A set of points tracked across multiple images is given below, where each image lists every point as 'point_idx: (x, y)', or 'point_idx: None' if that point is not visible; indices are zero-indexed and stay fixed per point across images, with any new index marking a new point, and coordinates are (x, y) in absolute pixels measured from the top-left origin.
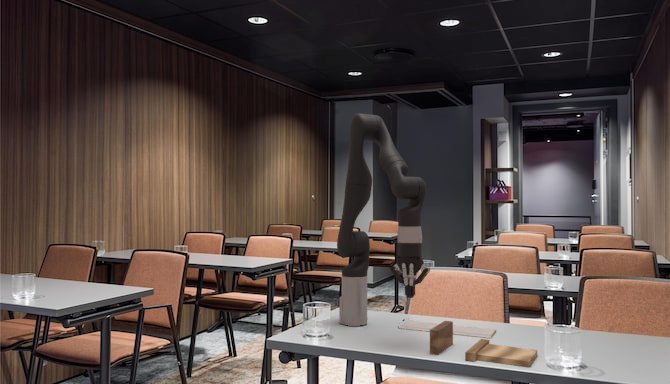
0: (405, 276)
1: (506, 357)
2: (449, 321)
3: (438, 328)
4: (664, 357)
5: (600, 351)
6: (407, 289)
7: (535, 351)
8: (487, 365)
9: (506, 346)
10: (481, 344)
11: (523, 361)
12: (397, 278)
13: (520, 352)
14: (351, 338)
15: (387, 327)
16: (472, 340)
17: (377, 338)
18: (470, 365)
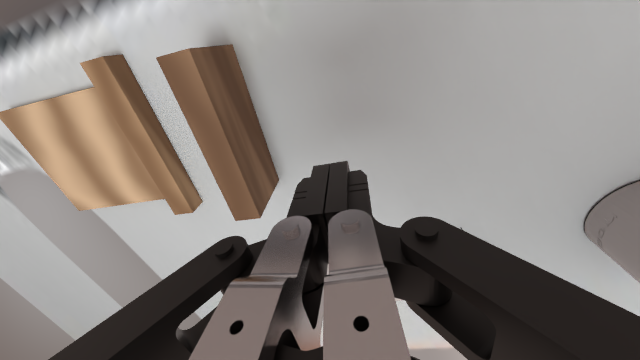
0: (345, 281)
1: (44, 110)
2: (243, 216)
3: (187, 98)
4: (13, 288)
5: (70, 276)
6: (338, 191)
7: (69, 198)
8: (57, 51)
9: (129, 200)
10: (151, 166)
11: (8, 110)
12: (491, 253)
13: (74, 173)
14: (591, 23)
15: (500, 230)
16: (248, 232)
17: (480, 98)
18: (73, 12)
